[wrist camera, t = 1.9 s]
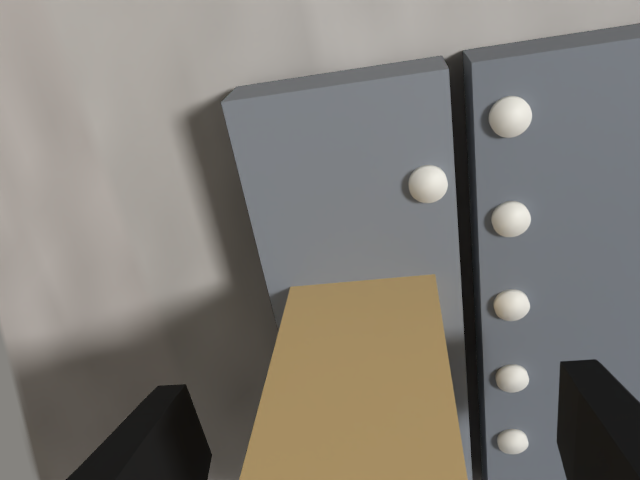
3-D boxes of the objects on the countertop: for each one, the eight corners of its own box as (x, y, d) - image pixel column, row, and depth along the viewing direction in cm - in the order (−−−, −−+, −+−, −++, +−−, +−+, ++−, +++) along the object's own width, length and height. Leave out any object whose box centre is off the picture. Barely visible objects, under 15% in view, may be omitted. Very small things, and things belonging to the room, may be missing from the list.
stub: (442, 55, 10) (509, 185, 5) (468, 487, 16) (514, 775, 10) (236, 86, 11) (92, 231, 5) (330, 490, 16) (305, 762, 11)
